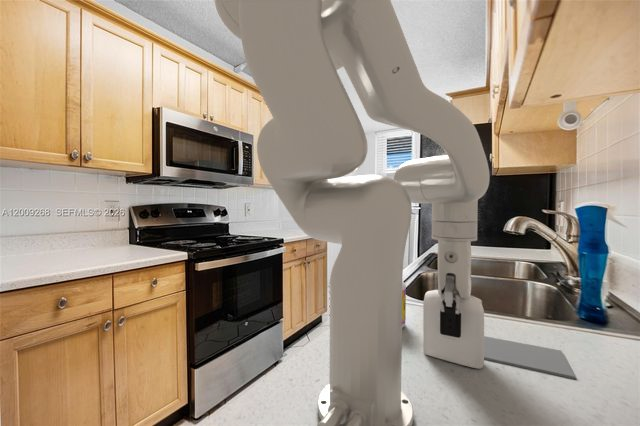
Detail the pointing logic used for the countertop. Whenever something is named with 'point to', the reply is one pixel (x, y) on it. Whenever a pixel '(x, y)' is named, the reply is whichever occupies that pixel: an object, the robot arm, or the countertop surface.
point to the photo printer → (453, 348)
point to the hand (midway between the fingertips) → (452, 325)
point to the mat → (527, 356)
